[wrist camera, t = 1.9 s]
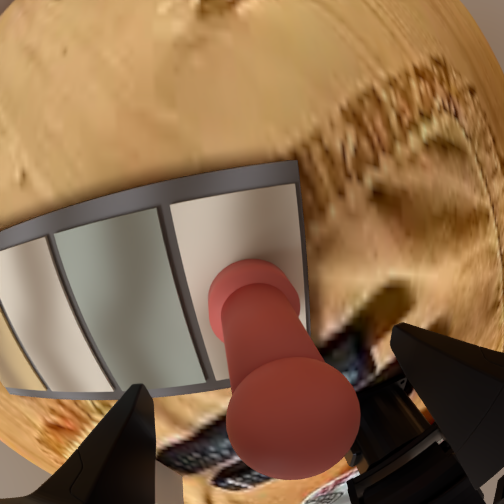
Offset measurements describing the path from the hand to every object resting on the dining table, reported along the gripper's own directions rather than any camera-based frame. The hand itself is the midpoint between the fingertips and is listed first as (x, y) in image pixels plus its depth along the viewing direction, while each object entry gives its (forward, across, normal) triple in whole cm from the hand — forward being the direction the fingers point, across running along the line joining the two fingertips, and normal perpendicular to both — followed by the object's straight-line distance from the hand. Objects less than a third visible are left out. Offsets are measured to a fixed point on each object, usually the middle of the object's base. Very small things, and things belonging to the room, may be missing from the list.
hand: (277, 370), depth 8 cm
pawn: (+5, 0, 0) cm, 5 cm away
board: (+6, +9, 0) cm, 11 cm away
